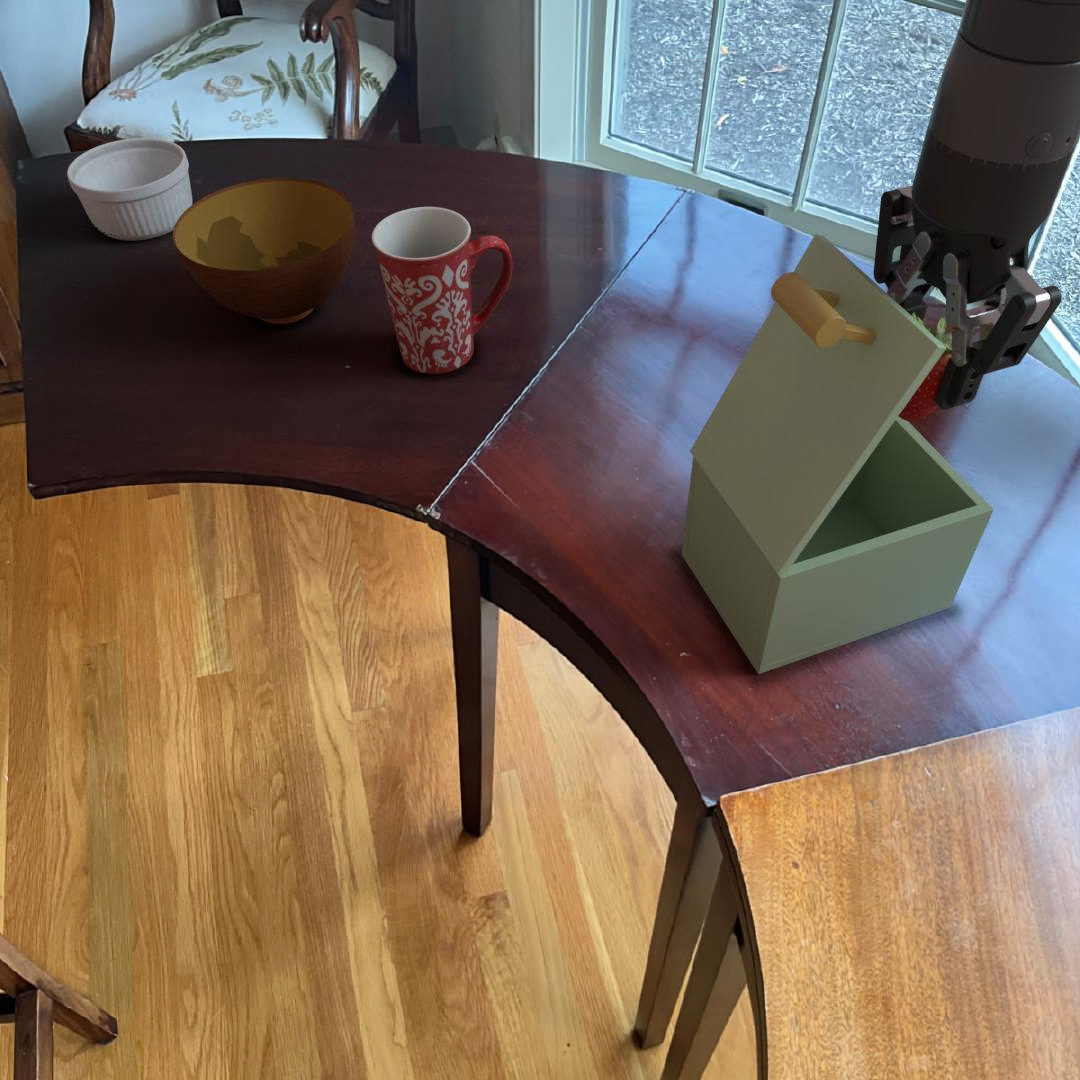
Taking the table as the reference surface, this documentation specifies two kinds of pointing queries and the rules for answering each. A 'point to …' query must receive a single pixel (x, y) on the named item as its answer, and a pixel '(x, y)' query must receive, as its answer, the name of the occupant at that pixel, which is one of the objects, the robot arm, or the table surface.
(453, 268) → the mug
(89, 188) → the ramekin
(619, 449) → the table surface
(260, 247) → the bowl
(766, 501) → the lid
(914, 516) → the chest
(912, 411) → the fruit
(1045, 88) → the robot arm
